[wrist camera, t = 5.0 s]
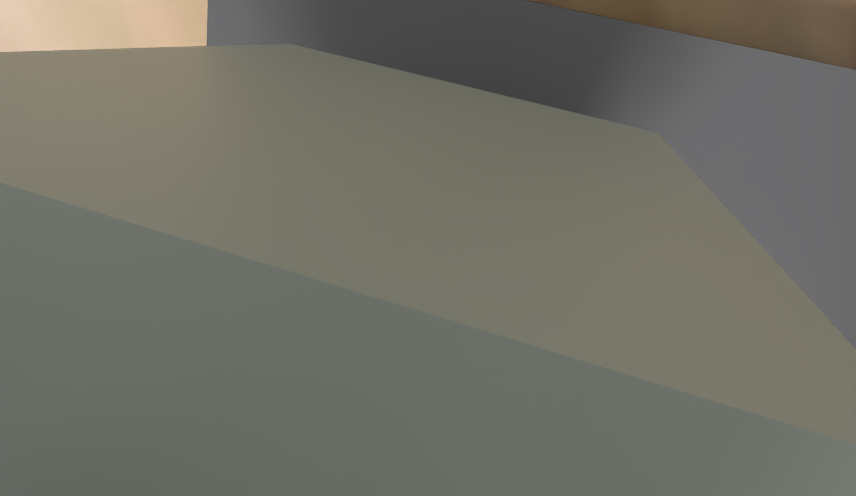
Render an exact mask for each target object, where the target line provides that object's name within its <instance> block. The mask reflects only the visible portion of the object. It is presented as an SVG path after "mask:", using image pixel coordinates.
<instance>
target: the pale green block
mask: <svg viewBox="0 0 856 496" xmlns="http://www.w3.org/2000/svg"><path fill="white" fill-rule="evenodd" d="M0 496H856V349H855V348H854V346H853V345H852V344H851V343H850V342H849V341H848V340H847V339H846V338H845V337H844V336H843V334H842V333H841V332H840V331H839V330H838V329H837V328H836V327H835V326H834V325H833V324H832V322H831V321H830V320H829V319H828V318H827V317H826V316H825V315H824V314H823V313H822V311H821V310H820V309H819V308H818V307H817V306H816V305H815V304H814V303H813V302H812V301H811V299H810V298H809V297H808V296H807V295H806V294H805V293H804V292H803V291H802V290H801V289H800V287H799V286H798V285H797V284H796V283H795V282H794V281H793V280H792V279H791V278H790V276H789V275H788V274H787V273H786V272H785V271H784V270H783V269H782V268H781V267H780V266H779V264H778V263H777V262H776V261H775V260H774V259H773V258H772V257H771V256H770V255H769V254H768V252H767V251H766V250H765V249H764V248H763V247H762V246H761V245H760V244H759V243H758V241H757V240H756V239H755V238H754V237H753V236H752V235H751V234H750V233H749V232H748V231H747V229H746V228H745V227H744V226H743V225H742V224H741V223H740V222H739V221H738V220H737V219H736V217H735V216H734V215H733V214H732V213H731V212H730V211H729V210H728V209H727V208H726V206H725V205H724V204H723V203H722V202H721V201H720V200H719V199H718V198H717V197H716V196H715V194H714V193H713V192H712V191H711V190H710V189H709V188H708V187H707V186H706V185H705V184H704V182H703V181H702V180H701V179H700V178H699V177H698V176H697V175H696V174H695V173H694V171H693V170H692V169H691V168H690V167H689V166H688V165H687V164H686V163H685V162H684V161H683V159H682V158H681V157H680V156H679V155H678V154H677V153H676V152H675V151H674V150H673V148H672V147H671V146H670V145H669V144H668V143H667V142H666V141H665V140H664V139H663V138H662V136H661V135H660V134H659V133H657V132H653V131H649V130H645V129H641V128H637V127H632V126H628V125H624V124H620V123H616V122H612V121H608V120H604V119H599V118H595V117H591V116H587V115H583V114H579V113H575V112H571V111H566V110H562V109H558V108H554V107H550V106H546V105H542V104H538V103H533V102H529V101H525V100H521V99H517V98H513V97H509V96H504V95H500V94H496V93H492V92H488V91H484V90H480V89H476V88H471V87H467V86H463V85H459V84H455V83H451V82H447V81H443V80H438V79H434V78H430V77H426V76H422V75H418V74H414V73H409V72H405V71H401V70H397V69H393V68H389V67H385V66H381V65H376V64H372V63H368V62H364V61H360V60H356V59H352V58H348V57H343V56H339V55H335V54H331V53H327V52H323V51H319V50H315V49H310V48H306V47H302V46H298V45H294V44H260V45H227V46H193V47H160V48H126V49H93V50H59V51H25V52H0Z"/></svg>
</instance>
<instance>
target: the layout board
mask: <svg viewBox="0 0 856 496" xmlns="http://www.w3.org/2000/svg"><path fill="white" fill-rule="evenodd" d="M260 44H294V45H298V46H302V47H306V48H310V49H315V50H319V51H323V52H327V53H331V54H335V55H339V56H343V57H348V58H352V59H356V60H360V61H364V62H368V63H372V64H376V65H381V66H385V67H389V68H393V69H397V70H401V71H405V72H409V73H414V74H418V75H422V76H426V77H430V78H434V79H438V80H443V81H447V82H451V83H455V84H459V85H463V86H467V87H471V88H476V89H480V90H484V91H488V92H492V93H496V94H500V95H504V96H509V97H513V98H517V99H521V100H525V101H529V102H533V103H538V104H542V105H546V106H550V107H554V108H558V109H562V110H566V111H571V112H575V113H579V114H583V115H587V116H591V117H595V118H599V119H604V120H608V121H612V122H616V123H620V124H624V125H628V126H632V127H637V128H641V129H645V130H649V131H653V132H657V133H659V134H660V135H661V136H662V138H663V139H664V140H665V141H666V142H667V143H668V144H669V145H670V146H671V147H672V148H673V150H674V151H675V152H676V153H677V154H678V155H679V156H680V157H681V158H682V159H683V161H684V162H685V163H686V164H687V165H688V166H689V167H690V168H691V169H692V170H693V171H694V173H695V174H696V175H697V176H698V177H699V178H700V179H701V180H702V181H703V182H704V184H705V185H706V186H707V187H708V188H709V189H710V190H711V191H712V192H713V193H714V194H715V196H716V197H717V198H718V199H719V200H720V201H721V202H722V203H723V204H724V205H725V206H726V208H727V209H728V210H729V211H730V212H731V213H732V214H733V215H734V216H735V217H736V219H737V220H738V221H739V222H740V223H741V224H742V225H743V226H744V227H745V228H746V229H747V231H748V232H749V233H750V234H751V235H752V236H753V237H754V238H755V239H756V240H757V241H758V243H759V244H760V245H761V246H762V247H763V248H764V249H765V250H766V251H767V252H768V254H769V255H770V256H771V257H772V258H773V259H774V260H775V261H776V262H777V263H778V264H779V266H780V267H781V268H782V269H783V270H784V271H785V272H786V273H787V274H788V275H789V276H790V278H791V279H792V280H793V281H794V282H795V283H796V284H797V285H798V286H799V287H800V289H801V290H802V291H803V292H804V293H805V294H806V295H807V296H808V297H809V298H810V299H811V301H812V302H813V303H814V304H815V305H816V306H817V307H818V308H819V309H820V310H821V311H822V313H823V314H824V315H825V316H826V317H827V318H828V319H829V320H830V321H831V322H832V324H833V325H834V326H835V327H836V328H837V329H838V330H839V331H840V332H841V333H842V334H843V336H844V337H845V338H846V339H847V340H848V341H849V342H850V343H851V344H852V345H853V346H854V348H855V349H856V70H854V69H850V68H845V67H840V66H835V65H831V64H826V63H821V62H816V61H812V60H807V59H802V58H797V57H793V56H788V55H783V54H779V53H774V52H769V51H764V50H760V49H755V48H750V47H745V46H741V45H736V44H731V43H726V42H722V41H717V40H712V39H707V38H703V37H698V36H693V35H689V34H684V33H679V32H674V31H670V30H665V29H660V28H655V27H651V26H646V25H641V24H636V23H632V22H627V21H622V20H617V19H613V18H608V17H603V16H599V15H594V14H589V13H584V12H580V11H575V10H570V9H565V8H561V7H556V6H551V5H546V4H542V3H537V2H532V1H527V0H208V18H207V46H227V45H260Z"/></svg>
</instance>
